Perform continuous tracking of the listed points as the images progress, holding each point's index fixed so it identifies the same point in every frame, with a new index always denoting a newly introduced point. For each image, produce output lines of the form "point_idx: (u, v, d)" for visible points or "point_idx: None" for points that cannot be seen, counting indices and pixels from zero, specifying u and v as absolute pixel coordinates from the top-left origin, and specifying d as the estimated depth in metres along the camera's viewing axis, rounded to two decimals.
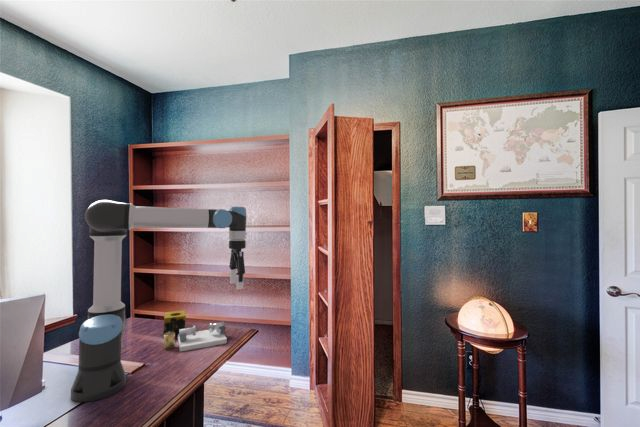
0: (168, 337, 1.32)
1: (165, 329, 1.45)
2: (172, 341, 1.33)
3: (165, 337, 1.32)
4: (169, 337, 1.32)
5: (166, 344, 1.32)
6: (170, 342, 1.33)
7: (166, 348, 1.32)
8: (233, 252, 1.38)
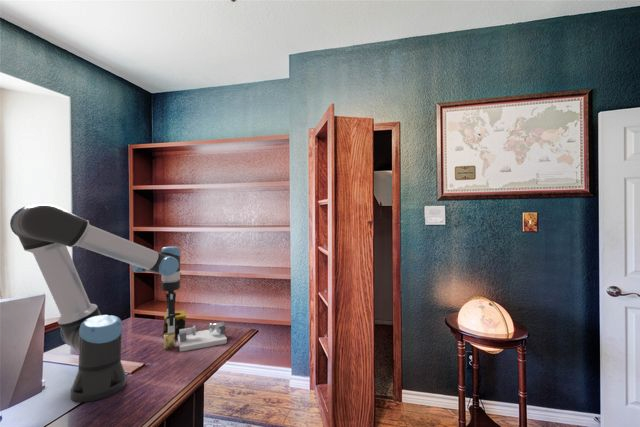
0: (168, 337, 1.32)
1: (165, 329, 1.45)
2: (172, 341, 1.33)
3: (165, 337, 1.32)
4: (169, 337, 1.32)
5: (166, 344, 1.32)
6: (170, 342, 1.33)
7: (166, 348, 1.32)
8: (167, 293, 1.35)
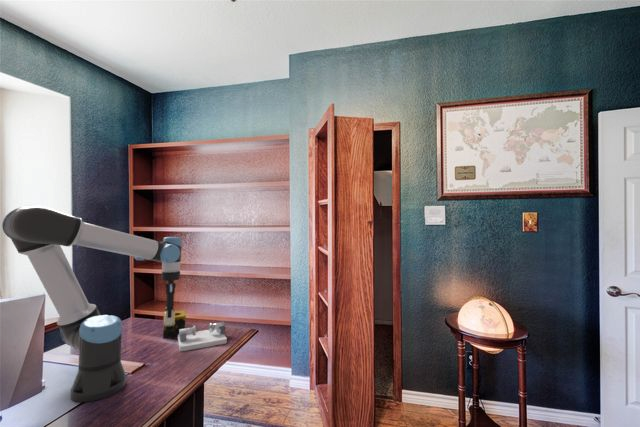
0: None
1: (165, 329, 1.45)
2: None
3: (165, 314, 1.32)
4: None
5: None
6: None
7: (166, 325, 1.32)
8: None
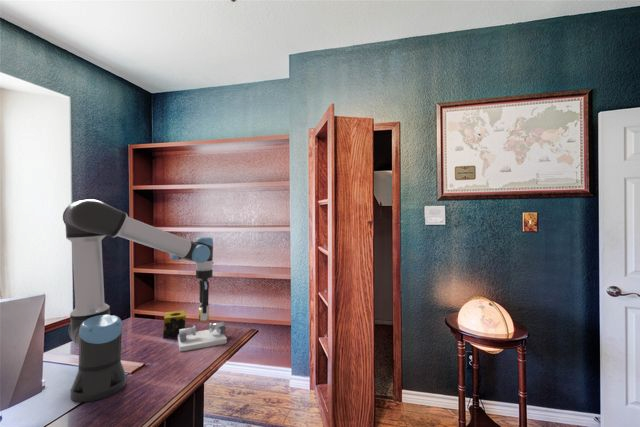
0: None
1: (165, 329, 1.45)
2: (207, 314, 1.42)
3: (200, 310, 1.41)
4: None
5: None
6: None
7: (202, 320, 1.40)
8: (200, 281, 1.43)
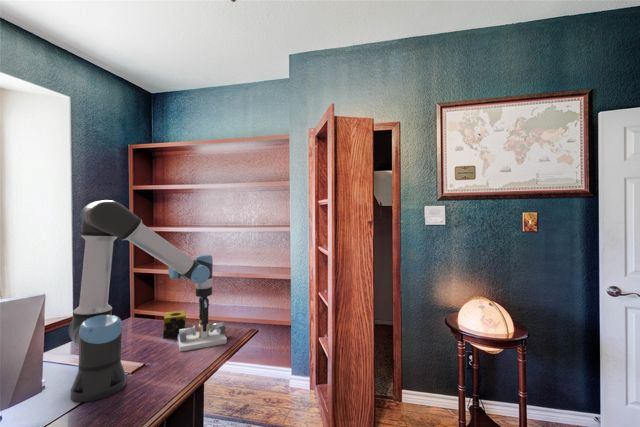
0: None
1: (165, 329, 1.45)
2: (207, 330, 1.42)
3: (200, 326, 1.41)
4: None
5: None
6: None
7: None
8: (200, 298, 1.43)
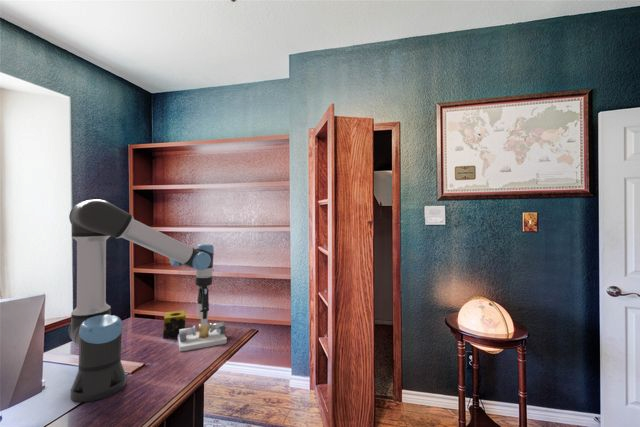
0: (203, 326, 1.41)
1: (165, 329, 1.45)
2: (207, 330, 1.42)
3: (200, 326, 1.41)
4: (204, 326, 1.41)
5: (202, 333, 1.40)
6: (205, 331, 1.41)
7: (201, 337, 1.40)
8: (200, 288, 1.43)
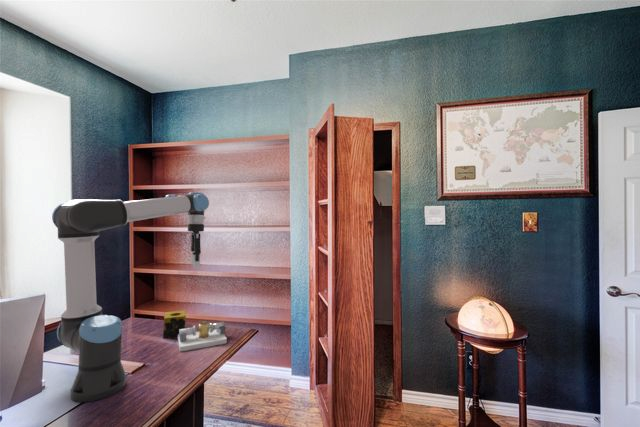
0: (203, 326, 1.41)
1: (165, 329, 1.45)
2: (207, 330, 1.42)
3: (200, 326, 1.41)
4: (204, 326, 1.41)
5: (202, 333, 1.40)
6: (205, 331, 1.41)
7: (201, 337, 1.40)
8: (192, 235, 1.49)
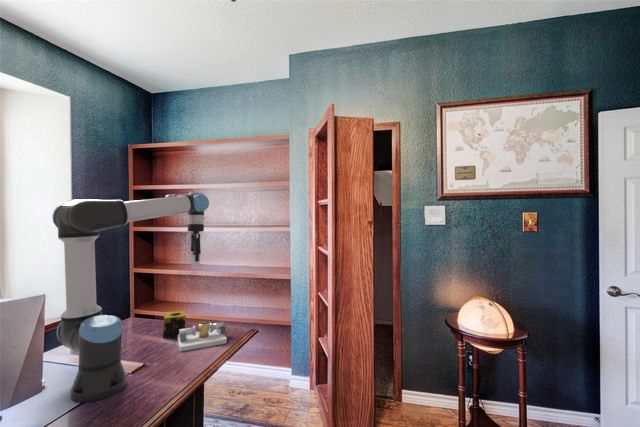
0: (203, 326, 1.41)
1: (165, 329, 1.45)
2: (207, 330, 1.42)
3: (200, 326, 1.41)
4: (204, 326, 1.41)
5: (202, 332, 1.40)
6: (205, 330, 1.41)
7: (201, 336, 1.40)
8: (192, 235, 1.49)
